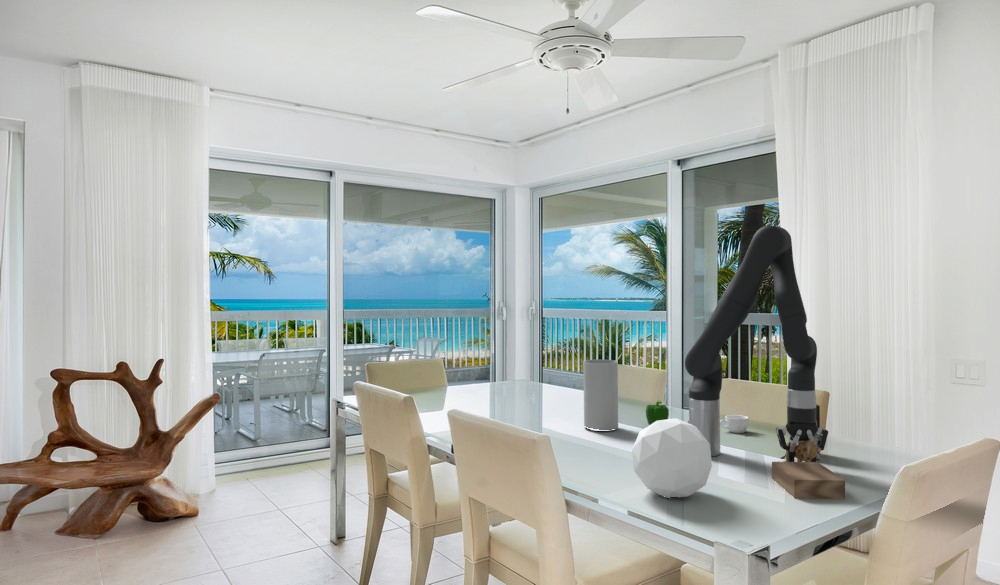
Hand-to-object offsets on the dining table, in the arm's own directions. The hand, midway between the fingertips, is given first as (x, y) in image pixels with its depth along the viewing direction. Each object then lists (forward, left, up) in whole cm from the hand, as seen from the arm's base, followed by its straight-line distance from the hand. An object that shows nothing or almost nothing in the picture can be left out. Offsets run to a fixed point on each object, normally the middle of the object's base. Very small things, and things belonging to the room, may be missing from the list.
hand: (802, 464), depth 178 cm
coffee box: (+6, +15, -1) cm, 16 cm away
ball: (-40, -26, -1) cm, 48 cm away
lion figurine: (0, +1, -1) cm, 2 cm away
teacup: (-8, +45, -1) cm, 46 cm away
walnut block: (-5, -18, -2) cm, 19 cm away
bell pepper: (-34, +52, -1) cm, 62 cm away
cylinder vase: (-55, +47, -1) cm, 72 cm away
